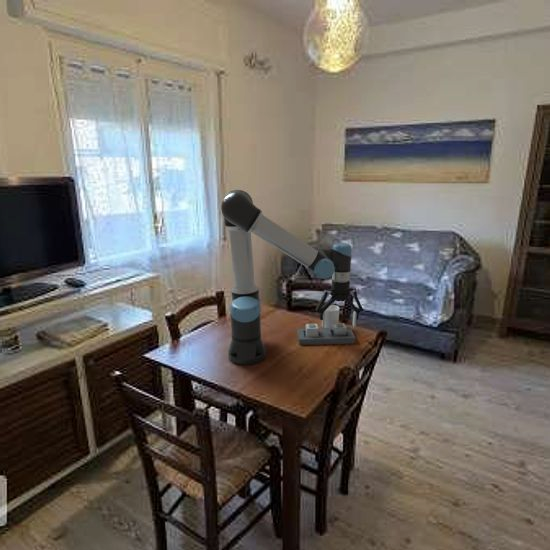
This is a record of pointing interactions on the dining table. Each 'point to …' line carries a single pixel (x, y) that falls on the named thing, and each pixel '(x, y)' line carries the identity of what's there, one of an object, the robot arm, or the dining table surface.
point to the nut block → (339, 329)
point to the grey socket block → (323, 336)
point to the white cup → (331, 316)
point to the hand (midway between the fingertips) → (338, 326)
